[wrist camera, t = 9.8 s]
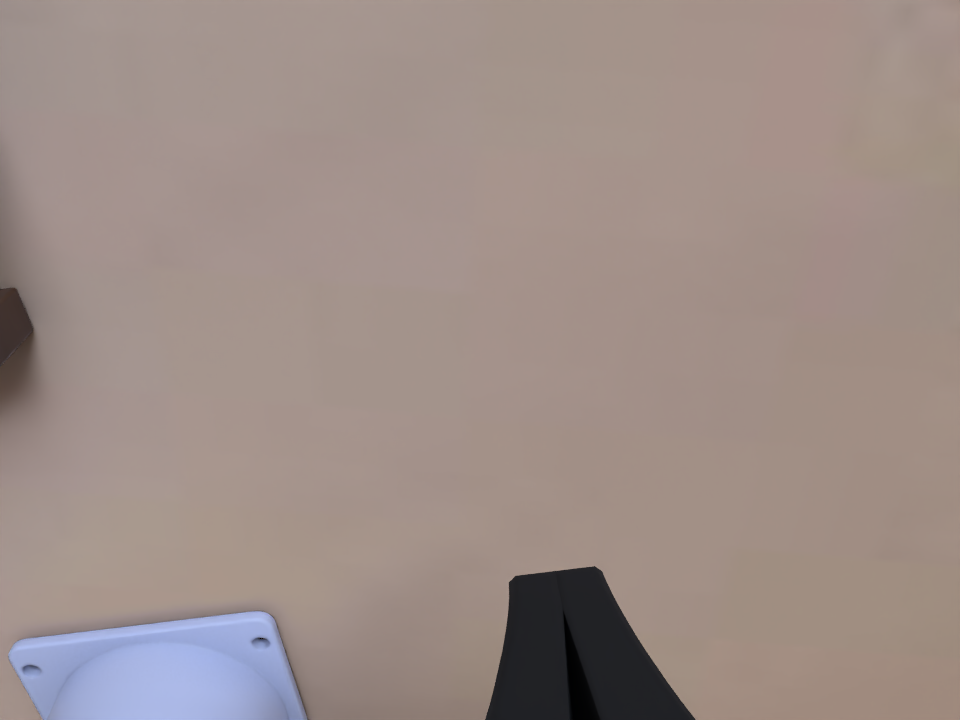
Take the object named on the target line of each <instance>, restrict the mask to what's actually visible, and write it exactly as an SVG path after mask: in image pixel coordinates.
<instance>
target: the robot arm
mask: <svg viewBox="0 0 960 720" xmlns="http://www.w3.org/2000/svg"><path fill="white" fill-rule="evenodd" d="M258 637H260V638H265V640H264V639H259V638H258ZM8 657H9V661H10V662H11V664H12V666H13V668H14V669H15V671H16V673H17V675H18V677H19V678H20V680H21V682H22V684H23V685H24V687H25V689H26V691H27V692H28V694H29V696H30V698H31V699H32V701H33V703H34V705H35V706H36V708H37V710H38V712H39V713H40V715H41V717H42V719H43V720H308V719H307V716H306V713H305V710H304V707H303V704H302V701H301V698H300V695H299V692H298V689H297V686H296V683H295V680H294V677H293V674H292V671H291V668H290V665H289V662H288V659H287V655H286V652H285V649H284V646H283V643H282V640H281V637H280V634H279V631H278V628H277V625H276V622H275V620H274V618H273V617H272V616H271V615H269V614H268V613H266V612H262V611H251V612H243V613H235V614H227V615H218V616H210V617H202V618H193V619H185V620H177V621H169V622H160V623H152V624H144V625H135V626H127V627H119V628H111V629H102V630H94V631H86V632H77V633H69V634H61V635H53V636H44V637H36V638H28V639H22V640H18V641H17V642H16V643H14V645H13V646H12V648H11V650H10V652H9V655H8ZM485 720H695V718H694V717H693V716H692V715H691V713H690V712H689V711H688V709H687V708H686V707H685V706H684V704H683V703H682V702H681V700H680V699H679V698H678V696H677V695H676V693H675V692H674V691H673V689H672V688H671V687H670V685H669V684H668V683H667V681H666V680H665V678H664V677H663V675H662V674H661V672H660V671H659V669H658V668H657V667H656V665H655V664H654V662H653V661H652V659H651V658H650V656H649V655H648V653H647V652H646V650H645V649H644V647H643V646H642V644H641V643H640V641H639V640H638V638H637V636H636V635H635V633H634V631H633V630H632V628H631V626H630V625H629V623H628V621H627V620H626V618H625V616H624V615H623V613H622V611H621V609H620V608H619V606H618V604H617V602H616V600H615V598H614V596H613V594H612V592H611V590H610V588H609V586H608V584H607V582H606V580H605V577H604V575H603V572H602V571H601V570H599V569H598V568H596V567H595V566H594V567H586V568H578V569H569V570H561V571H553V572H545V573H536V574H528V575H520V576H515V577H514V578H513V579H512V580H511V581H510V582H509V610H508V620H507V627H506V633H505V639H504V645H503V651H502V656H501V660H500V664H499V669H498V673H497V678H496V682H495V686H494V691H493V695H492V698H491V702H490V706H489V709H488V712H487V716H486V719H485Z"/></svg>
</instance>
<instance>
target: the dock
mask: <svg viewBox="0 0 960 720" xmlns="http://www.w3.org/2000/svg"><path fill="white" fill-rule="evenodd" d="M32 331H33V327H32V324H31V322H30V320H29V317H28V315H27V313H26V310H25V308H24V306H23V303H22V301H21V299H20V296H19V294H18V292H17V290H16V289H15V288H6V289H0V367H1V365H2V364H3V363H4V362H5V361H6V360H7V359H8V358H9V357H10V356H11V354H12V353H13V352H14V351H15V350H16V349H17V348H18V347H19V346H20V345H21V343H22V342H23V341H24V340H25V339H26V338H27V337H28V336H29V335H30V334H31V333H32Z"/></svg>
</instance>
